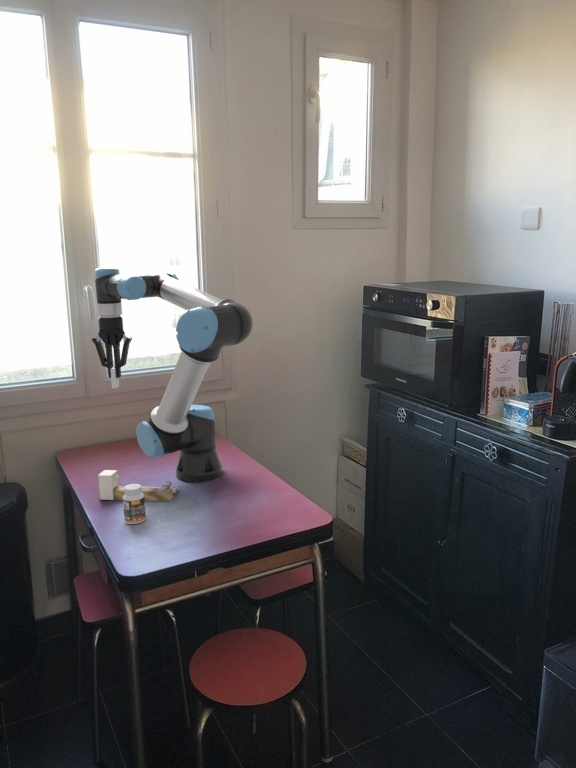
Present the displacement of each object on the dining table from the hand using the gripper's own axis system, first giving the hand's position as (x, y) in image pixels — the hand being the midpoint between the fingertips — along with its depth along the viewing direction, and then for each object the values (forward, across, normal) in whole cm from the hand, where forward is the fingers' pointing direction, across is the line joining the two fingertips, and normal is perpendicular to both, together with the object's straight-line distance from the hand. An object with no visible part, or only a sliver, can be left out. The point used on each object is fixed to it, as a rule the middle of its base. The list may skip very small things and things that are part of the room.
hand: (115, 387), depth 207 cm
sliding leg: (+28, -6, +23) cm, 37 cm away
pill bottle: (+28, -19, +41) cm, 53 cm away
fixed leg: (+27, -22, +24) cm, 42 cm away
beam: (+28, -14, +25) cm, 40 cm away
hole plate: (+28, -14, +20) cm, 38 cm away
